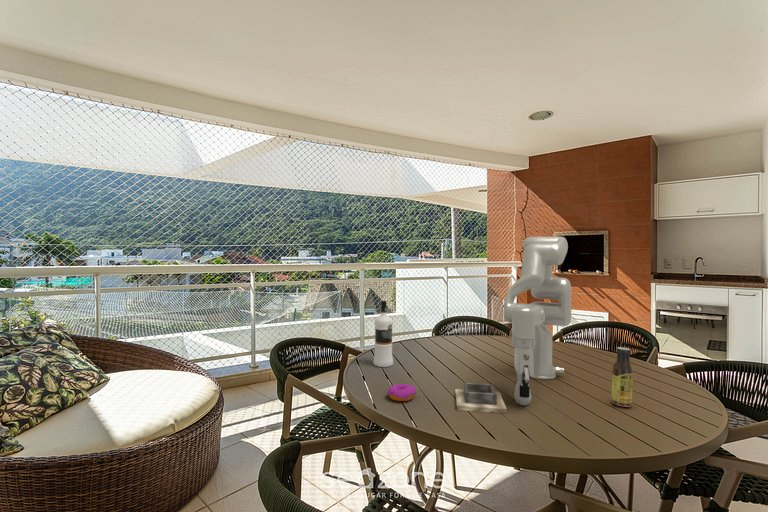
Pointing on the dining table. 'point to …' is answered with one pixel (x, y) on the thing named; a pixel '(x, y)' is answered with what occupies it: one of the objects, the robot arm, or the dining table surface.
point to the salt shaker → (517, 392)
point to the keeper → (479, 398)
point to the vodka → (383, 339)
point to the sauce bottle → (622, 379)
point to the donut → (401, 392)
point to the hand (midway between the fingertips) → (522, 393)
